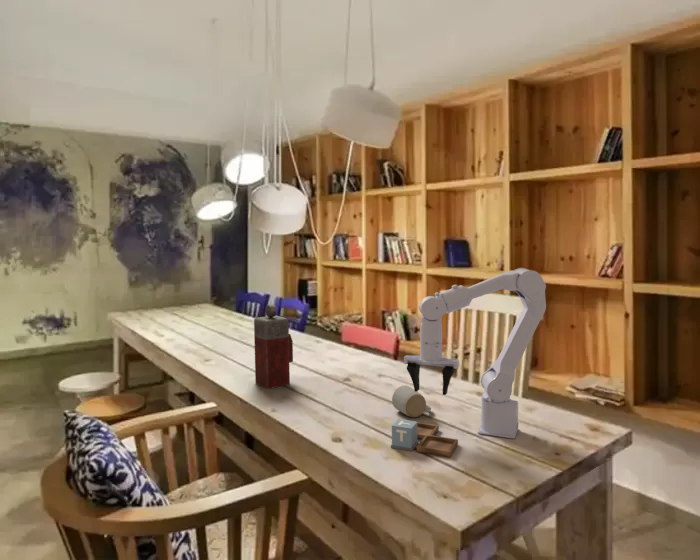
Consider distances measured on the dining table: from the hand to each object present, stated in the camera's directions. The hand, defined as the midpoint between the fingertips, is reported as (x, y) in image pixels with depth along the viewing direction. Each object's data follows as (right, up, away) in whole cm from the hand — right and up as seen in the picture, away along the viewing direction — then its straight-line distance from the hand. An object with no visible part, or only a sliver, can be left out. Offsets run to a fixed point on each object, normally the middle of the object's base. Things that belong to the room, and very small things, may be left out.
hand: (430, 392), depth 142 cm
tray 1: (-3, -11, -1) cm, 11 cm away
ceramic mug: (-3, -9, +14) cm, 17 cm away
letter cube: (-8, -11, -9) cm, 16 cm away
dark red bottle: (-48, -7, +46) cm, 67 cm away
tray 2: (0, -12, -11) cm, 16 cm away
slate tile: (-8, -11, -9) cm, 16 cm away
